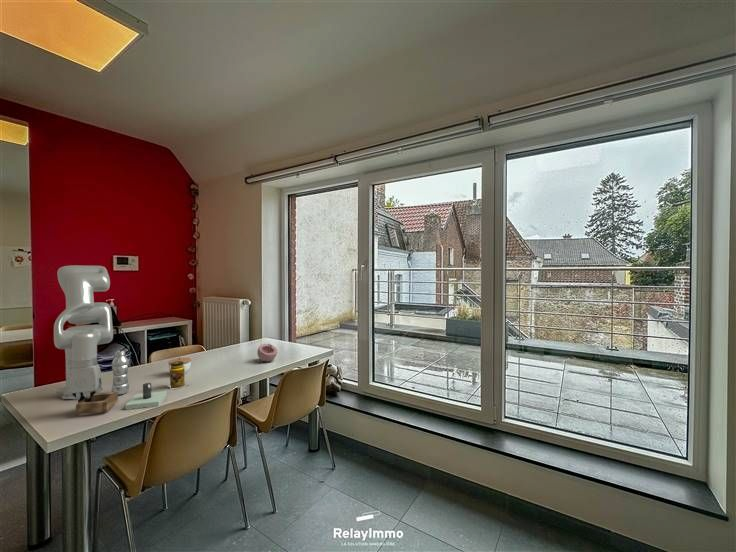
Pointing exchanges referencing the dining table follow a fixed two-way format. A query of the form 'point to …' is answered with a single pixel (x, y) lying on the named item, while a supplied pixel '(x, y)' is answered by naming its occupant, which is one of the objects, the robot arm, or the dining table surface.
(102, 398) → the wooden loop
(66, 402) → the dining table surface
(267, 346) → the pink round bowl
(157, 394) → the peg stand
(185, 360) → the white round bowl
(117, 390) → the plastic bottle
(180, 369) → the condiment
